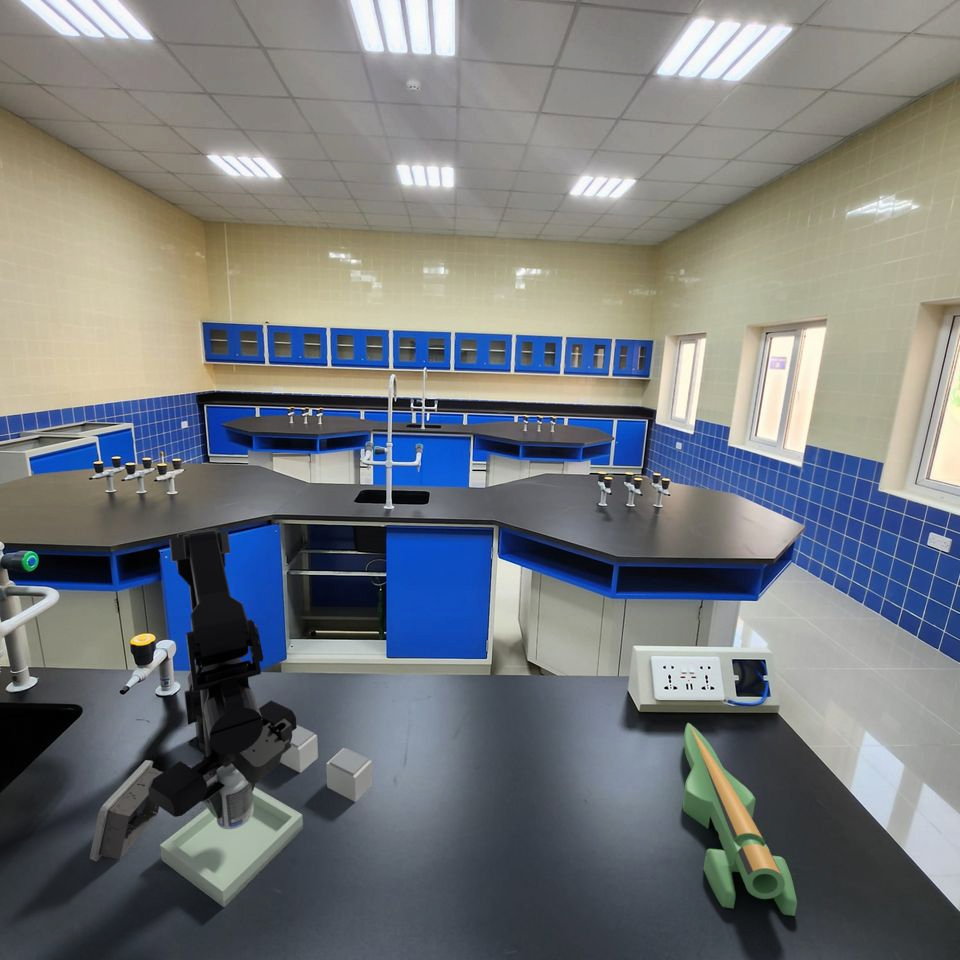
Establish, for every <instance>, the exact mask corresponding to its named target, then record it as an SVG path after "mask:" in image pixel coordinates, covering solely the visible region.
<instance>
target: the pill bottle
mask: <svg viewBox="0 0 960 960" xmlns="http://www.w3.org/2000/svg"><path fill="white" fill-rule="evenodd" d="M217 781H219V782H220V783H222V784H224V785H225V786H224V787H223V788H222V789H221V790H220V798H221V807H222V812H221V818H219V819H217V818H216V819H217V824H218V825H219V826H220V827H221V828H223V829H235V828H238V827H240V826H242V825H243V824H245V823H246V822H247V821H248V820H249V819H250V818H251V816H252V814H253V810H254V806H253V794H252V783H249V782H248V781H247V780H246V779H245V777H244V776H243V775H242V774H241V773H240V772H239V771H238V770H237V769H236V768H235V767H234V766H233V765H232V763H231V764H230V765H229V766H227V767H223V768H221V769H220V770H219V771H217Z"/></svg>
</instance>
